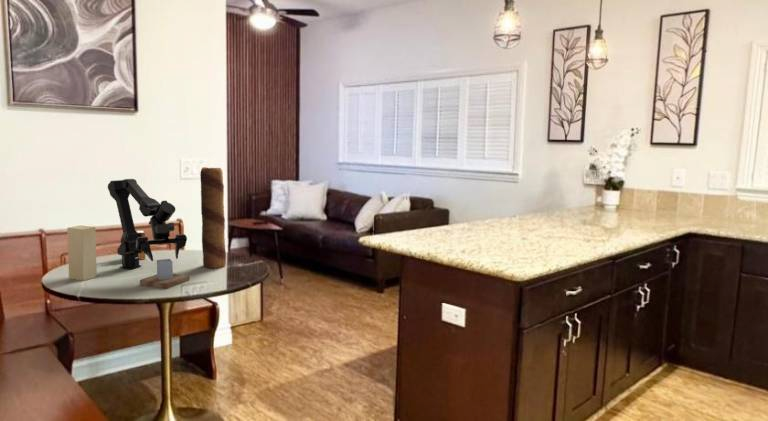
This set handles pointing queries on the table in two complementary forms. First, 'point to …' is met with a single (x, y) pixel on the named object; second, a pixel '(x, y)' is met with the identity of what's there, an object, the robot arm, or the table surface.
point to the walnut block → (164, 281)
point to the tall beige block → (82, 252)
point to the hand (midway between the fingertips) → (164, 259)
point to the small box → (142, 255)
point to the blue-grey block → (164, 269)
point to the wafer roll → (213, 218)
